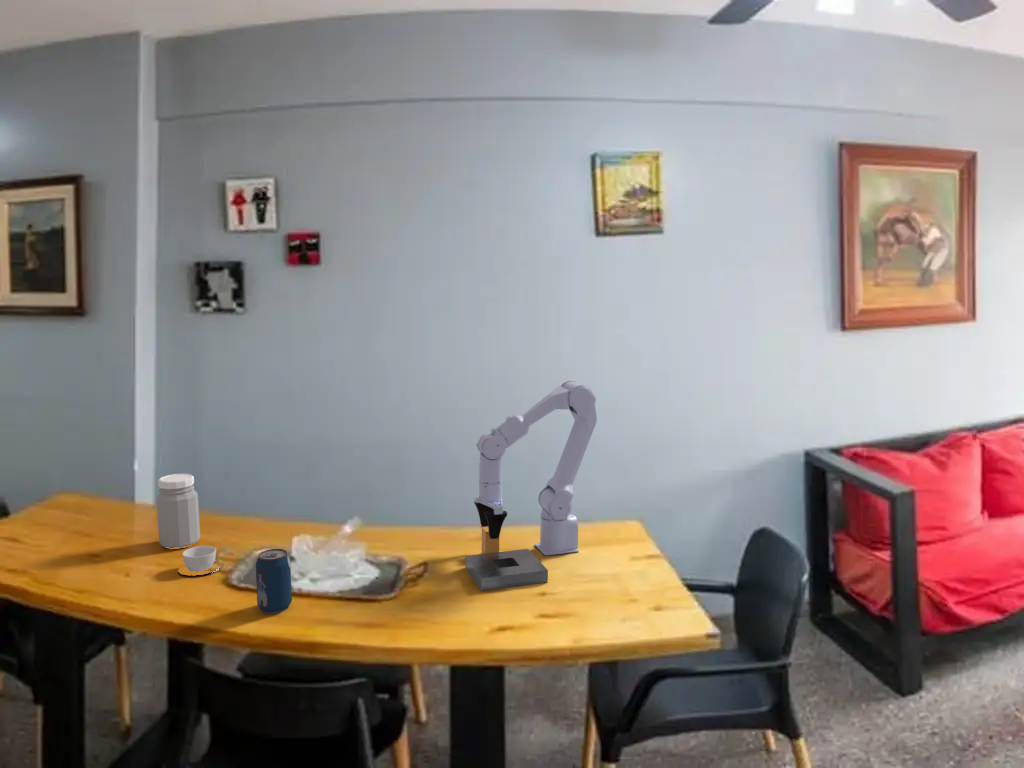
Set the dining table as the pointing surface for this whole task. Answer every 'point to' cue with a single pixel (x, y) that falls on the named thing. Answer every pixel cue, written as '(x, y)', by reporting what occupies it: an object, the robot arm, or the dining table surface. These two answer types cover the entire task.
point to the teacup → (199, 558)
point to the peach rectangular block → (489, 542)
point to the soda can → (273, 581)
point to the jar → (177, 511)
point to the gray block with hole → (506, 569)
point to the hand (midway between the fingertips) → (490, 533)
